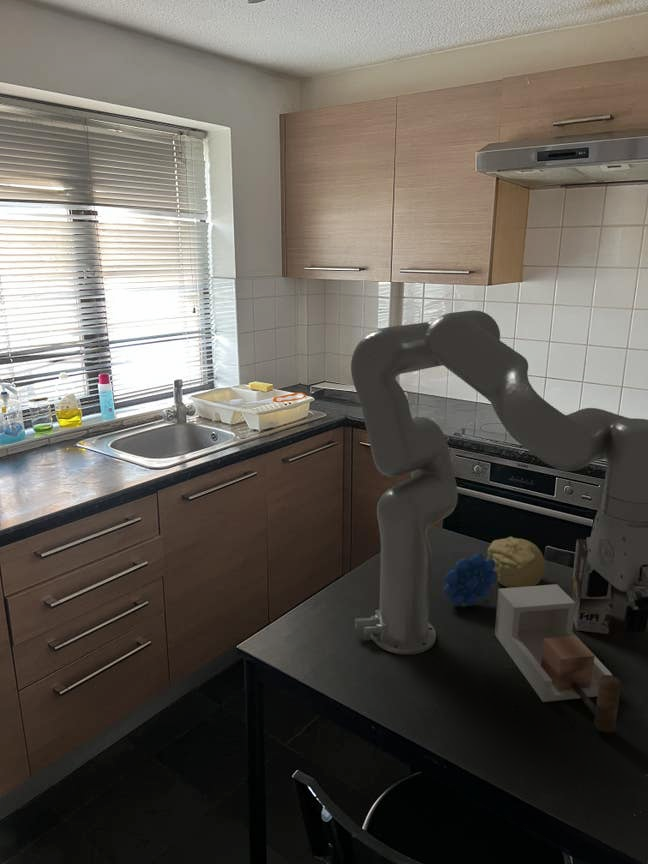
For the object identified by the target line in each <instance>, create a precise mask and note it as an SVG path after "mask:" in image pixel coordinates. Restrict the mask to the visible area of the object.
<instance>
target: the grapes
mask: <svg viewBox="0 0 648 864" xmlns="http://www.w3.org/2000/svg"><path fill="white" fill-rule="evenodd" d="M455 568H456V569H450V570H448V572H447V573H446V574H445V582H447V584H446V585H445V586H444V587H443V595H444V596H445V597H446V598H450V602H451V604H452V605H453V606H455V607H459V606H461V605H462V604H464V605H466V606H468V607H473V606H474V605H476V604H477V603H478V600H479V598H481V599H484V598H487V597H489V595H490V594H491V593H492V592H491V591H492V589H491V588H492V587H491V585H494V584H495V583H496V582H498V581H497V578H498V575H497V572H496V571H493V569H494V568H495V561H494V560H493V559H490V558H489V559H487V558H486V559H485V557H484V555H483V554H482V553H475V554H473V555H472V556H471V557H470V559H469V558H468V557H462V558H459V559H458V560H457V561H456V564H455Z"/></svg>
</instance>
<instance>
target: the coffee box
mask: <svg viewBox="0 0 648 864" xmlns="http://www.w3.org/2000/svg"><path fill="white" fill-rule="evenodd" d="M574 552H575V554H574V561H573V570H572V571H573V572H572V581H571V589H570V598H571V599H572V600H573V601H574V602H575V603H576V604H575V612H574V621H573V625H574V627H575V630H576V631H579V632H580V631H581V632H589V633H590V632H591V633H598V634H605V635H608V634H609V632H610V626H611V619H612V613H613V604H614V598H615V589H616V588H615V587H614V586H613V585H612V584H611V583H609V586H608V593H607V596H602V597H588V596H587V594H586V593H587V586H588V578H589V573H591V572H589V570H588V564H589V563H588V560H587V552H588V549H587V541H586V538H585V539H581V538H577V539H576V544H575V551H574Z"/></svg>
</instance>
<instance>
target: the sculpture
mask: <svg viewBox="0 0 648 864" xmlns="http://www.w3.org/2000/svg"><path fill="white" fill-rule="evenodd" d="M489 558H490V559H493V560H494V561H495V568H494V569H493V571H496V572H497V575H498V578H497V581H496V582H498V583H499V584H501V585H502V586H503V587H505V588H514V587H527V586H538V584H539V583H540V581H542V578H543V577H544V574H545V571H546V569H545V568H546V561H545V556H544V555H543V553H542V551H541V550H540V548H539V547H538V546H537V545H536V544H534V542H531V541H529V540H527V539H523V538H517V537H513V536H509V537H506V538H501V539H500V538H499V539H495V540H493V541H492V542H491V544H490V546H488V548H487V557H486V559H489Z"/></svg>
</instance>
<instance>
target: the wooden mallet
mask: <svg viewBox="0 0 648 864" xmlns="http://www.w3.org/2000/svg"><path fill="white" fill-rule="evenodd" d="M578 638H579V637H578V636H577V635H576V636H567V637H556V638H545V639H544V643H543V652H542V661H541V667H542V668H543V669H544V671H545V672H546V673H547V675H548V676H549V677H550V678H551V680H552V684H553V685H554V686H555V687H556V689H557V690H563V689H574V690H575V691H576V692H577V694H578V695H579V696H580V697H581V698H580V699H581V700H582V701H583V702H584V704H585V705H586V706H587V708H588V709H589V710H590V711H591V713H593V715H594V720H593V725H594V727H595V728H597V730H599V731H601V732H603V733H612V732H614V731H615V729H616V723H617V715H618V710H619V702H620V696H621V687H622V682H621V680H620V679H619V678H617V677H616V676H613V675H612V676H610V675H603V676H601V677H600V681H599V689H598V696H596V703H594V702H593V701H592V700H591V699H590V697H588V696H587V695H586V694H585V693H584V692H583V690H582V689H581V688H583V687H591V680H592V672H593V665H594V657H595V656H596V655H595V654H594V653H593V652H592V651H591V650H590V649H589V648H588V647H587V645H586V644H585V643H584V642H583V641H582V640H581V639H580V638H579V639H580V640H581V641H582V642H583V643H584V644H583V643H582V642H581V641H580V640H579V639H578ZM591 652H592V653H593V654H594V655H595V656H594V655H593V654H592V653H591Z"/></svg>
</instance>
